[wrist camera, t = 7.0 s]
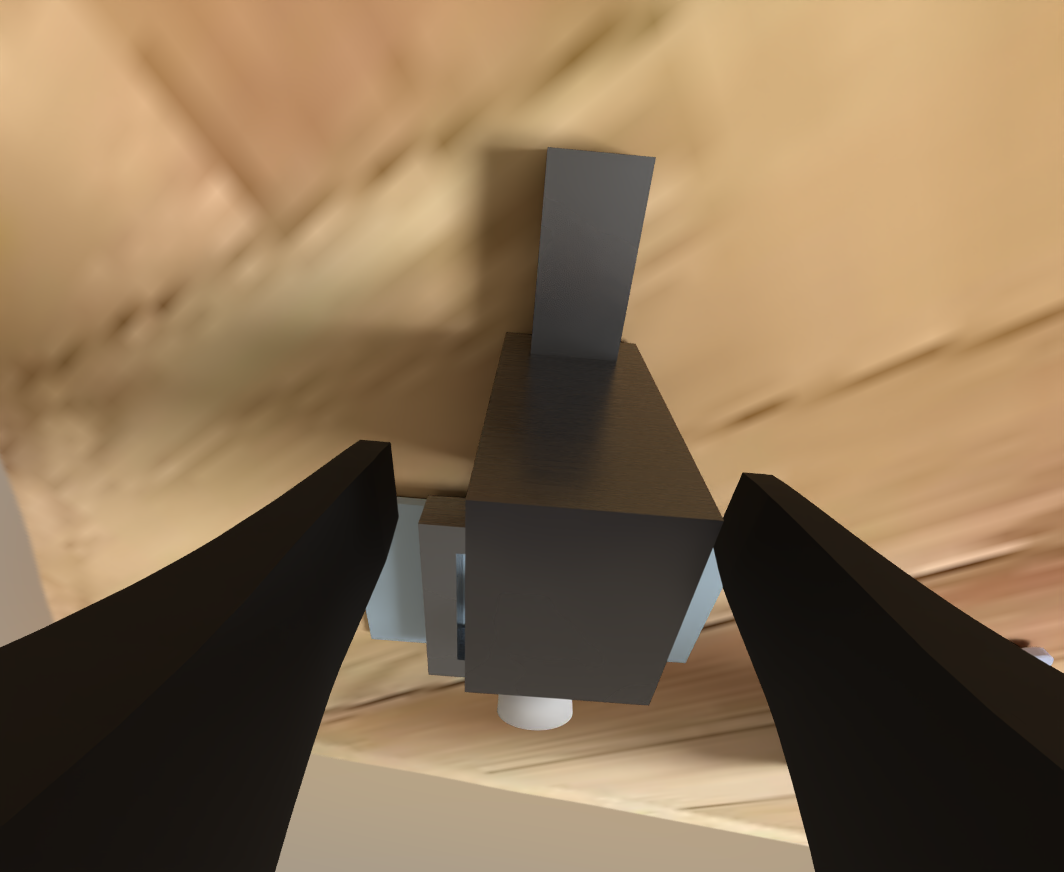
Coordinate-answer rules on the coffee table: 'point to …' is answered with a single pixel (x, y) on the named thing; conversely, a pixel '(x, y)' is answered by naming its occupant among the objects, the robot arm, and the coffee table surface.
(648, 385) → the grey block with tab
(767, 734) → the coffee table surface
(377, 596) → the keeper
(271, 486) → the coffee table surface
